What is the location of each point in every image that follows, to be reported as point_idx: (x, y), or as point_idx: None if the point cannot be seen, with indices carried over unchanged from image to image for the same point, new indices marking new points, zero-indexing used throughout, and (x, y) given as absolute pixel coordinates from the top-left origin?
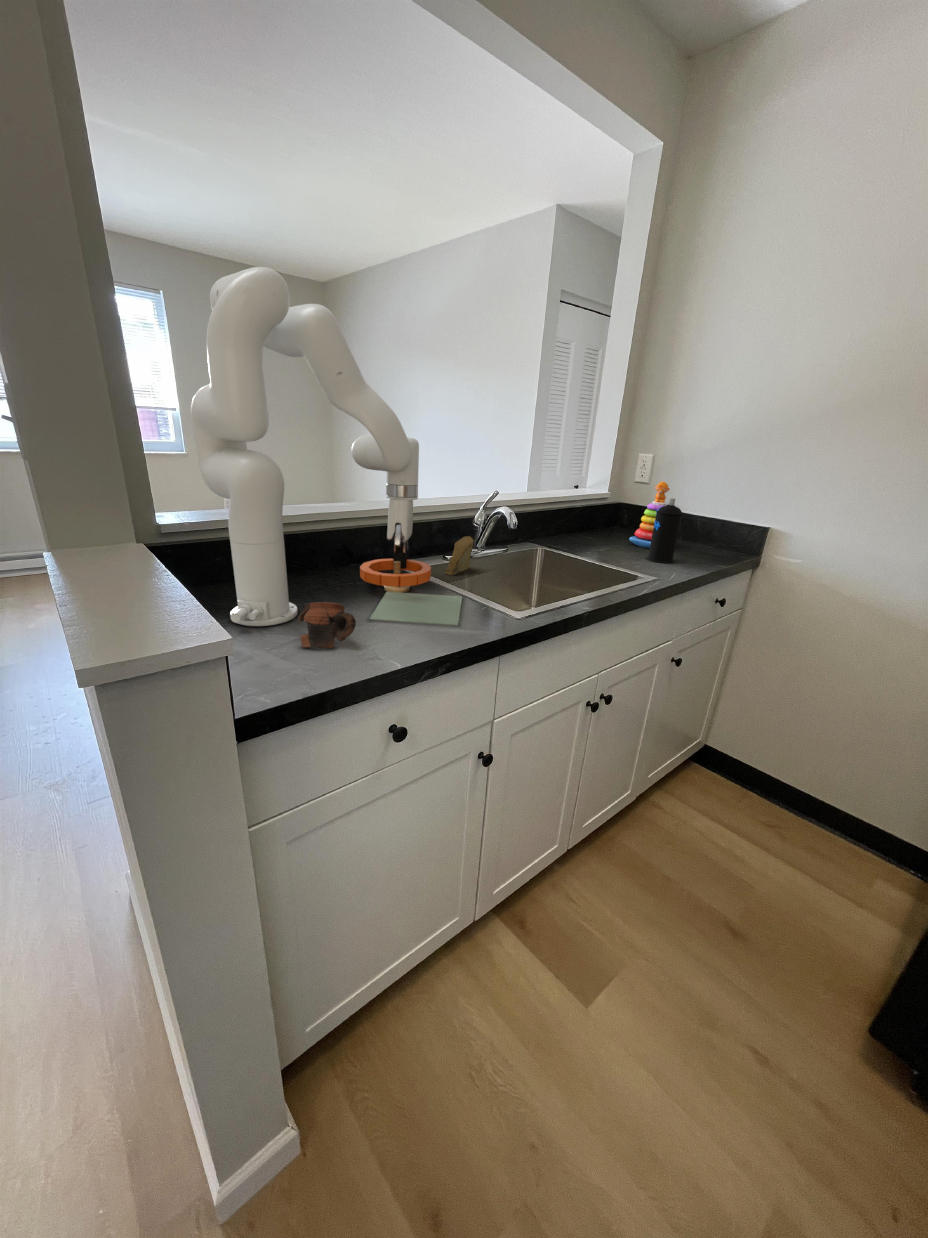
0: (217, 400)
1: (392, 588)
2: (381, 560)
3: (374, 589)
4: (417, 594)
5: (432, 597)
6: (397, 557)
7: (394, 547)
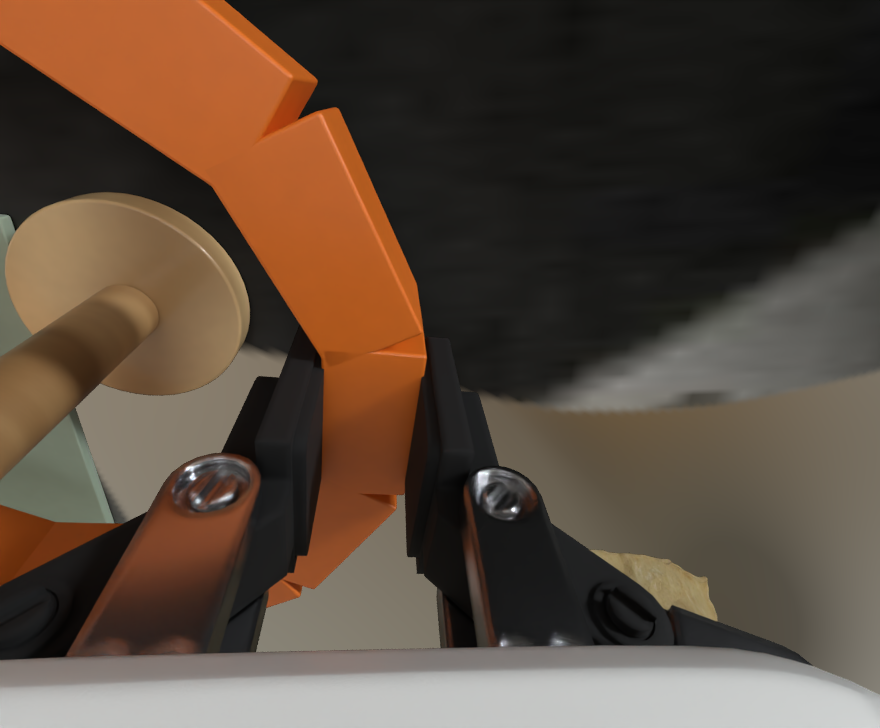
0: None
1: (34, 276)
2: (254, 193)
3: None
4: (52, 435)
5: (36, 506)
6: (231, 441)
7: (137, 538)
